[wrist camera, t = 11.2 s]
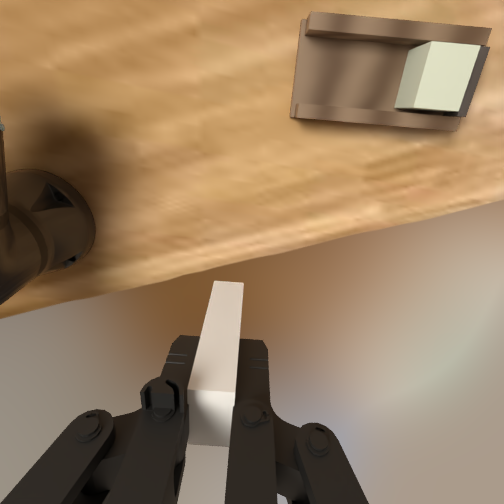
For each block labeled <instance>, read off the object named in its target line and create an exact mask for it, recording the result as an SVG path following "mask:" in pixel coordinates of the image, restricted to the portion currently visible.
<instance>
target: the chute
mask: <svg viewBox="0 0 504 504" xmlns="http://www.w3.org/2000/svg"><path fill="white" fill-rule="evenodd" d="M491 30H492V28H484V27H473V26H462V25H452V24H441V23H430V22H420V21H409V20H398V19H388V18H377V17H366V16H356V15H345V14H334V13H323V12H313V11H311V12H310V14H309V16H308V18H307V20H306V19H302V20H301V25H300V34H299V42H298V50H297V59H296V67H295V75H294V84H293V92H292V100H291V108H290V117H297V118H308V119H319V120H331V121H343V122H354V123H366V124H377V125H389V126H401V127H412V128H424V129H435V130H447V131H457V128H458V125H459V122H460V119H461V117H466V115H467V112H468V109H469V106H470V103H471V100H472V98H473V95H474V92H475V89H476V86H477V83H478V80H479V78H480V75H481V72H482V69H483V66H484V63H485V60H486V58H487V55H488V52H489V49H490V47H484V46H486V44H487V41H488V38H489V35H490V32H491ZM431 41H437V42H447V43H458V44H469V45H480V49H479V52H478V55H477V58H476V61H475V64H474V67H473V70H472V73H471V76H470V79H469V82H468V85H467V88H466V91H465V94H464V97H463V100H462V103H461V106H460V108H459V111H423V110H412V109H400V108H394V107H395V103H396V99H397V95H398V91H399V87H400V83H401V79H402V75H403V71H404V67H405V63H406V59H407V56H408V52H409V50H411V49H414V48H416V47H418V46H421V45H423V44H426V43H428V42H431Z"/></svg>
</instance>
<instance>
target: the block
mask: <svg viewBox="0 0 504 504" xmlns="http://www.w3.org/2000/svg"><path fill="white" fill-rule="evenodd" d="M479 49H480V45H469V44H458V43H447V42H437V41H431V42H428V43H426V44H423V45H421V46H418V47H416V48H414V49H411V50H409V52H408V56H407V59H406V63H405V67H404V71H403V75H402V79H401V83H400V87H399V91H398V95H397V99H396V103H395V107H394V108H400V109H412V110H423V111H459V108H460V106H461V103H462V100H463V97H464V94H465V91H466V88H467V85H468V82H469V79H470V76H471V73H472V70H473V67H474V64H475V61H476V58H477V55H478V52H479Z"/></svg>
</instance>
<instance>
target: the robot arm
mask: <svg viewBox="0 0 504 504" xmlns="http://www.w3.org/2000/svg"><path fill="white" fill-rule="evenodd" d="M3 131H5V127H4V125H3V124H2V123H1V118H0V305H1V304H2V303H4V302H5V301H6V300H7V299H9V298H10V297H11V296H13V295H14V294H15V293H16V292H18V291H19V290H20V289H22V288H23V287H24V286H25V285H27V284H28V283H29V282H31V281H32V280H33V279H34V278H36V277H37V276H39V275H43V274H47V273H50V272H54V271H58V270H61V269H64V268H67V267H69V266H71V265H73V264H75V263H76V262H77V261H79V260H80V259H81V258H82V257H83V256H85V255H86V254H87V252H88V251H89V250H90V248H91V246H92V244H93V241H94V237H95V224H94V219H93V216H92V213H91V211H90V209H89V207H88V205H87V203H86V202H85V200H84V199H83V198H82V196H81V195H80V194H79V193H78V192H77V191H76V190H75V189H74V188H73V187H72V186H71V185H69V184H68V183H67V182H65V181H64V180H62V179H61V178H59V177H57V176H55V175H53V174H50V173H48V172H44V171H41V170H35V169H21V170H16V171H12V172H8V173H6V168H5V154H4V141H3ZM243 286H244V283H237V282H224V281H214V285H213V289H212V293H211V297H210V301H209V305H208V309H207V313H206V317H205V321H204V325H203V329H202V332H201V336H200V337H199V336H185V335H180V336H179V337H178V338H177V339H176V340H175V341H174V342H173V343H172V346H171V348H170V351H169V355H168V357H167V359H166V363H165V365H164V367H163V371H162V373H161V376H160V377H157V378H155V379H152V380H151V381H149V382H148V383H147V384H145V385H144V387H143V388H142V390H141V392H140V395H141V404H142V408H141V409H139V410H137V411H135V412H132V413H129V414H125V415H120V416H116V417H112V416H111V414H110V413H109V412H107V411H105V410H98V409H96V410H91V411H87V412H85V413H83V414H81V415H79V416H78V417H77V418H76V419H75V420H73V421H72V422H71V423H70V424H69V425H68V426H67V428H66V429H65V430H64V431H63V432H62V434H60V436H59V437H58V438H57V439H56V440H55V441H54V443H53V444H52V445H51V446H50V447H49V448H48V450H47V451H46V452H45V453H44V454H43V455H42V456H41V457H40V459H39V460H38V461H37V462H36V463H35V464H34V465H33V467H32V468H31V469H30V470H29V471H28V472H27V473H26V475H25V476H24V477H23V478H22V479H21V481H19V483H18V484H17V485H16V486H15V487H14V488H13V490H12V491H11V492H10V493H9V494H8V495H7V497H6V498H5V499H4V500H3V501H2V502H1V503H0V504H177V501H178V496H179V491H180V486H181V482H182V477H183V472H184V467H185V451H186V447H187V442H188V444H193V445H209V446H225V447H229V458H228V469H227V481H226V493H225V504H277V493H278V494H280V495H282V496H285V497H286V499H287V502H288V504H369V503H368V501H367V499H366V497H365V495H364V493H363V491H362V489H361V486H360V484H359V482H358V480H357V478H356V476H355V474H354V472H353V470H352V468H351V466H350V464H349V461H348V459H347V458H346V455H345V453H344V451H343V449H342V447H341V445H340V443H339V441H338V439H337V438H336V436H335V435H334V433H333V432H332V431H331V430H330V429H328V428H327V427H326V426H324V425H321V424H319V423H307V424H305V425H303V426H302V427H301V428H299V427H297V426H294V425H291V424H289V423H287V422H285V421H283V420H282V419H280V418H279V417H278V416H277V415H276V414H275V412H274V411H273V409H272V407H271V403H270V390H269V389H270V388H269V370H268V349H267V347H266V345H265V344H264V342H263V341H262V340H252V339H239V338H240V324H241V312H242V298H243Z"/></svg>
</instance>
